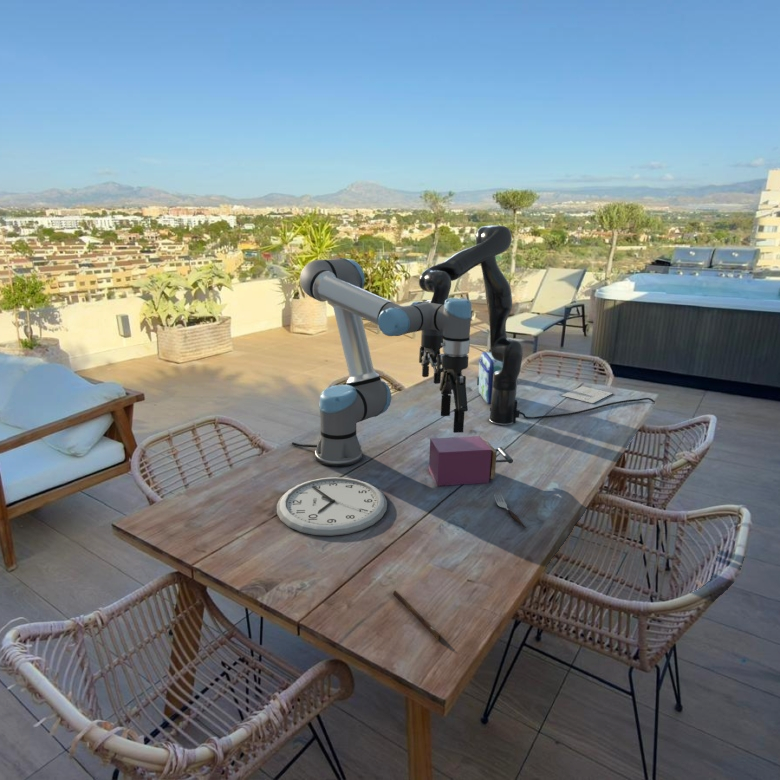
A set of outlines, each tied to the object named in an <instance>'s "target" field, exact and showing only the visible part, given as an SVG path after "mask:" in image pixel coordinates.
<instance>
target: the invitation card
mask: <svg viewBox="0 0 780 780" xmlns="http://www.w3.org/2000/svg"><path fill="white" fill-rule="evenodd" d="M611 395H613V392H611V391H610V392H609V391H605V390H601V389H597V388H592V387H588V386H583V385H582V386H580V387H577V388H575V389H572V390H570V391H568V392H565V393H563V394H561V395H560V396H561V397H565V398H570V399H573V400H577V401H581V402H585V403H589V404H594V403H597V402H599V401H602V400H603V399H605V398H607V397H609V396H611Z"/></svg>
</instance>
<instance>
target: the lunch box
mask: <svg viewBox="0 0 780 780" xmlns="http://www.w3.org/2000/svg"><path fill="white" fill-rule="evenodd" d="M502 367H503V362H500V361H497V360H495V359H494V358H493V356H492V354H491V352H489V351H482V352H481V354H480V358H479V360H478V377H477V381H476V384H477V385H476V386H478V393H479V395H480V396H481V397H482V399H483V400H484V402H485V404H487V405H488V406H489V405H490V406H491V398H492V385H493V374H494V372H495V371H497V370H502Z"/></svg>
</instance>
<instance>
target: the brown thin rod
mask: <svg viewBox="0 0 780 780" xmlns="http://www.w3.org/2000/svg"><path fill="white" fill-rule="evenodd" d="M392 595H393V596H394V597H395V598H396V599H397V600H398V601H399V602H400V603H401V604H402V605H403V606H404V607H405V608H406V609H407V610H408V612H410V613H411V614H412V615H413V616H414V618H416V619H417V620H418V621H419V622H420V623H421V624H422V625H423V626H424V628H426V629H427V630H428V631H429V633H430V634H431V635H432V636H433V637H434V638H435V639H436V640H437V641H439V640H441V635H440V634H439V633H438V631H436V629H435V628H434V627H433V626H432V625H431V624H430V623H429V622H428V621H427V620H426V619H425V618H424V617H423V616H422V615H421V614H420V613H419V612H418V611H417V610H416V609H415V608H414V607H413V606H412V605H411V604H410V603H409V602H408V601H407V600H406V599H405V598H404V597H403V596H402V595H401V593H399V592H398V591H397V590H394V591H393V593H392Z"/></svg>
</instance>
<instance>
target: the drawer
mask: <svg viewBox="0 0 780 780" xmlns="http://www.w3.org/2000/svg"><path fill="white" fill-rule="evenodd" d="M483 440H484V442H485V443H486V444H487V445H488V446H489V447H490V448H491V450H492V451H491V464H490V476H489V479H495V477H496V466H497V465H496V464H497V463H508V464H512V463H514V459H513V458H512V457H511V456H510V455H509V453H507V451H506V450H505V449H504V448H503V447H501V446H500V447H498V448H494V447H493V445H491V443H490V442H489V441H488V440H487V439H486V438H485V439H483ZM497 452H498V453H499V454H500V455H501V456H502V457H503V458H504V459H497V455H498V453H497Z"/></svg>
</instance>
